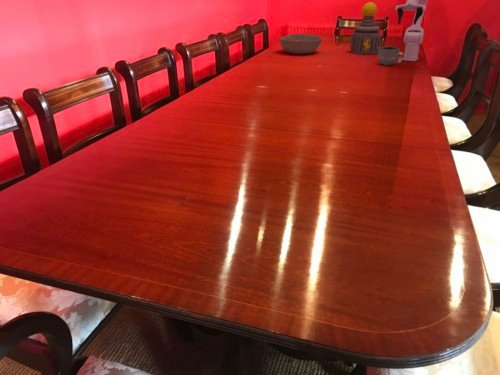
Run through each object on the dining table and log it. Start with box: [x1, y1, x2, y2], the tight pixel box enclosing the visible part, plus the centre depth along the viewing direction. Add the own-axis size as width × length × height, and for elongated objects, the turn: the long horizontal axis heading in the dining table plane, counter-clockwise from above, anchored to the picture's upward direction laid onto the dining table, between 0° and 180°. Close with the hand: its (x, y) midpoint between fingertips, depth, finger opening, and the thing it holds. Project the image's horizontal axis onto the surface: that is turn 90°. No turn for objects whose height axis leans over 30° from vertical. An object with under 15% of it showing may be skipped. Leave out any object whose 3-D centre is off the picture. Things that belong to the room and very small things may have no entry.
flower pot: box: [377, 46, 401, 66], centre depth 221 cm, size 9×9×9 cm
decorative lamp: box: [349, 1, 382, 56], centre depth 252 cm, size 19×19×30 cm
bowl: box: [278, 33, 323, 55], centre depth 258 cm, size 28×28×10 cm
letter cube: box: [395, 51, 404, 63], centre depth 229 cm, size 5×5×5 cm
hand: (406, 23), depth 203 cm, fingers open, 7 cm apart
